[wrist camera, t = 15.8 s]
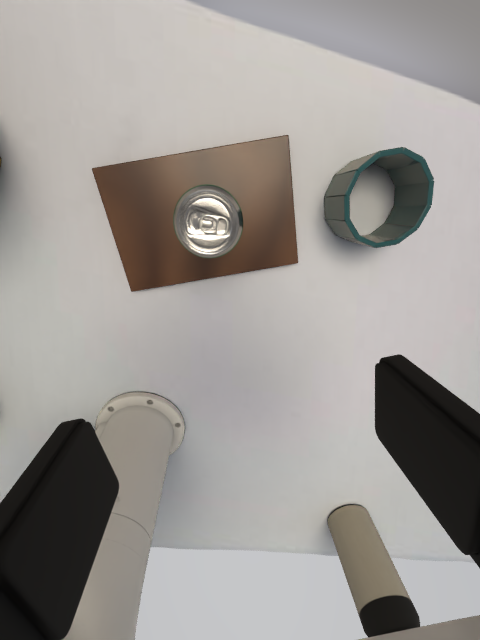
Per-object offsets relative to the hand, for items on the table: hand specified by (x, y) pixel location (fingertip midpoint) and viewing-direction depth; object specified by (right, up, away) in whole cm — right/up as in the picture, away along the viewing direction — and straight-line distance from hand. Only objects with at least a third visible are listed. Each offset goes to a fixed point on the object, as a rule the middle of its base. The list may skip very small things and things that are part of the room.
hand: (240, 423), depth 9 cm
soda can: (-3, +15, +21) cm, 26 cm away
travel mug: (+21, -34, +44) cm, 60 cm away
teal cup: (+14, +17, +22) cm, 31 cm away
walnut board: (-4, +15, +22) cm, 27 cm away
